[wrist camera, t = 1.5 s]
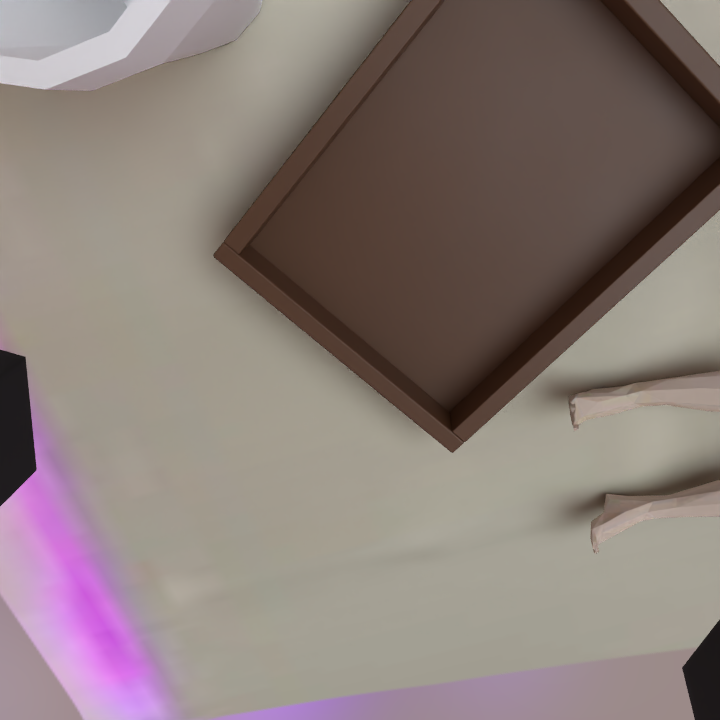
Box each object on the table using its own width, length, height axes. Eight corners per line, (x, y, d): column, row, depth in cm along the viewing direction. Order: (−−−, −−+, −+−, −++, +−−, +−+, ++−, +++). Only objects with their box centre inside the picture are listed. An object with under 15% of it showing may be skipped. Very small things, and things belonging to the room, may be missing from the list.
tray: (513, -121, 23) (525, -148, 21) (754, 139, 26) (792, 144, 23) (229, 242, 29) (211, 256, 27) (449, 425, 32) (452, 454, 29)
